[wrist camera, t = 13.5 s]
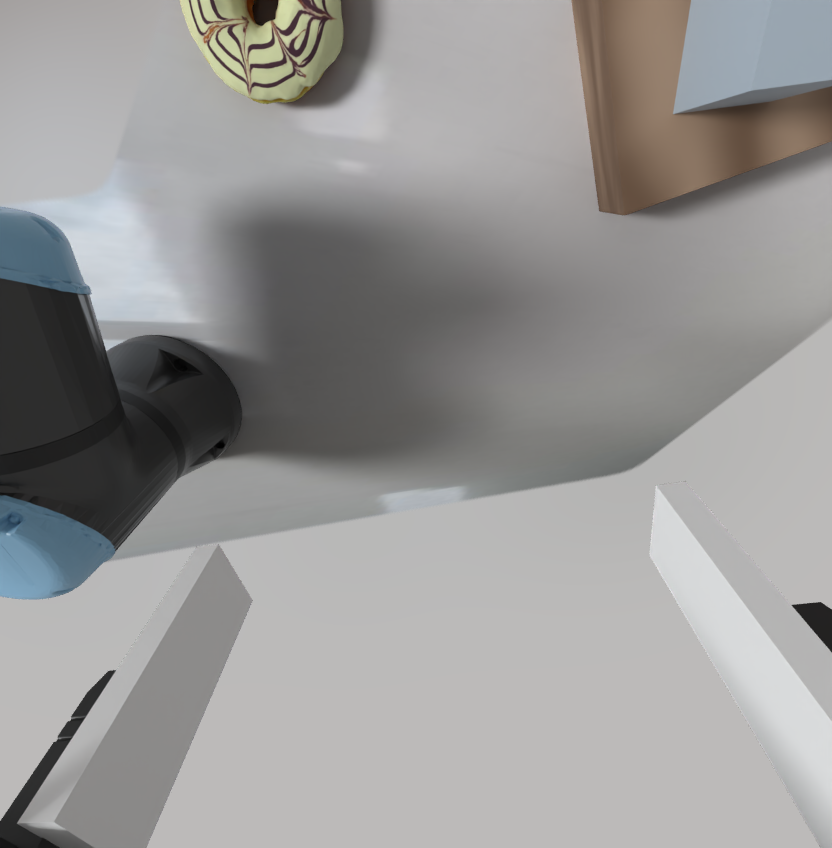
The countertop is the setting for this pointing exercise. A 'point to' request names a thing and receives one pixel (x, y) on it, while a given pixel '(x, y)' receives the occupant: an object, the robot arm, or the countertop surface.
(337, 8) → the decorated donut
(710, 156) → the walnut block
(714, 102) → the slate block
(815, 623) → the robot arm
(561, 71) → the countertop surface
